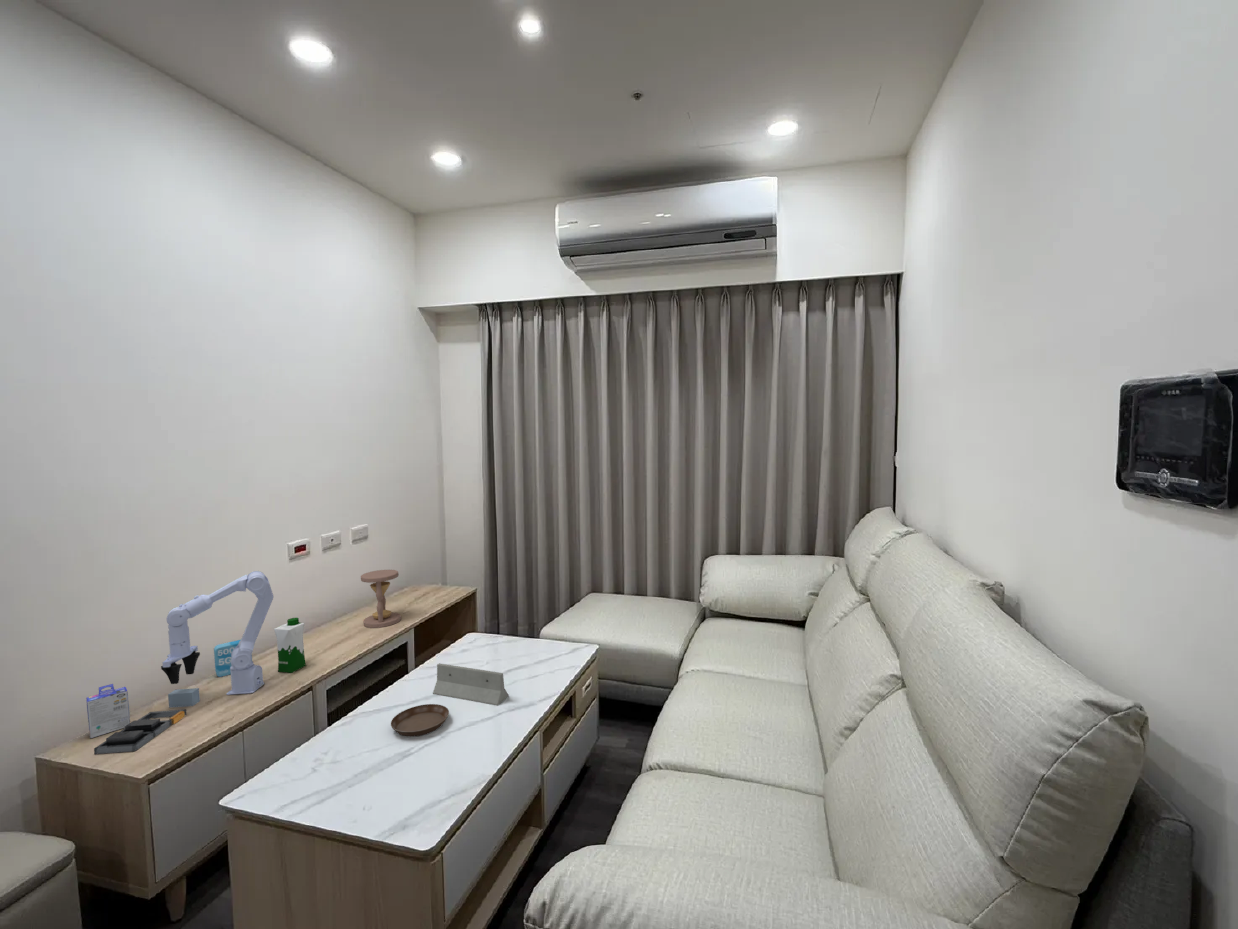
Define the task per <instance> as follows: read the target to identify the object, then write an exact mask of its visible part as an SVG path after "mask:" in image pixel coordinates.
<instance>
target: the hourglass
mask: <svg viewBox="0 0 1238 929" xmlns="http://www.w3.org/2000/svg"><path fill="white" fill-rule="evenodd" d="M398 577H399V571H398V570H397V569H379V570H373V571H368V572H366V573H363V574H361V575H360V581H361V582H362V583H369V584H370V585H369V586H370V588H371V589H372V590H373V592H374V593H375V597H376V600H377V605H376V611H375V612H373V613H372V614H371V615H370V616H367V617H365V618H364V619H363V620H362V621H363V626H364V627H365V628H369V629H379V628H386V627H390V626H393V625H395V624H397V623H399V622H400V621H401V620H402V616H401V614H400V613H399V612H394V611H393V612H392V611H391V610H388V609H386V602H387V600H386V597H385V593H386V592H387V590H388V589H389V587H390V585H391V582H390V581H391V580H395V579H396V578H398Z"/></svg>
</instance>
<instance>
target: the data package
mask: <svg viewBox="0 0 1238 929" xmlns="http://www.w3.org/2000/svg"><path fill="white" fill-rule="evenodd" d="M240 640H241V639H238V640H232V641H229V642H225V643H223V642H222V643H219V644H216V645H215V646H214V648H213V654H214V655H213V656H214V659H213V660H214V668H215V669H214V670H215V674H216V676H217V677H219V678H220V677H225V676H231V671H230V667H231V666H232V665H231V660H232V658H231V653H232V651H233V650H234V649H235V648H236V647H237V646H238V644H239V642H240ZM251 657H252V658H253V653H252V654H251Z"/></svg>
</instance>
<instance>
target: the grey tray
mask: <svg viewBox="0 0 1238 929" xmlns="http://www.w3.org/2000/svg"><path fill="white" fill-rule="evenodd" d="M186 715H187V709H171V710H158V711H157V710H156V711H155V710H154V711H149V712H148V713H146V714H144V715H142V717H140V718H138V719H137V720H132V721H130V723H129V724H128V725H126V726H125V728H122V729H121V730H120V731H115V732H114V733H112V734H111V735H110V736H108V737H106V738H105V741H104V742H102V743H101V744H99V745H97V746H96V747H94V748H93V752H94V755H102V754H103V755H104V754H115V753H129V752H130V753H131V752H136V751H138V750H139V749H141V748H142V747H143V746H145V745H146V744H147V743H149V742H150V741H152V740H154V738H156V737H158V736H159V735H160V734H161V733H163V732H164V731H166V730H167V729H168V728H170V727H171V726H172V725H175V724H176V723H178V722H179V721H180V720H182V719H183V718H185V716H186ZM160 718H169V719H164V720H163V719H162V720H161V719H160Z"/></svg>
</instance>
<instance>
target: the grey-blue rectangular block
mask: <svg viewBox="0 0 1238 929" xmlns="http://www.w3.org/2000/svg"><path fill="white" fill-rule="evenodd" d="M167 698H168V709H171V708H185V707H194V706H196V705H197V704H198V703H199V702H200V701H201V698H200V688H199V687H193V688H181V689H180V688H179V689H174V690H172V691H171V692H169V693H168V694H167Z"/></svg>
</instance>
